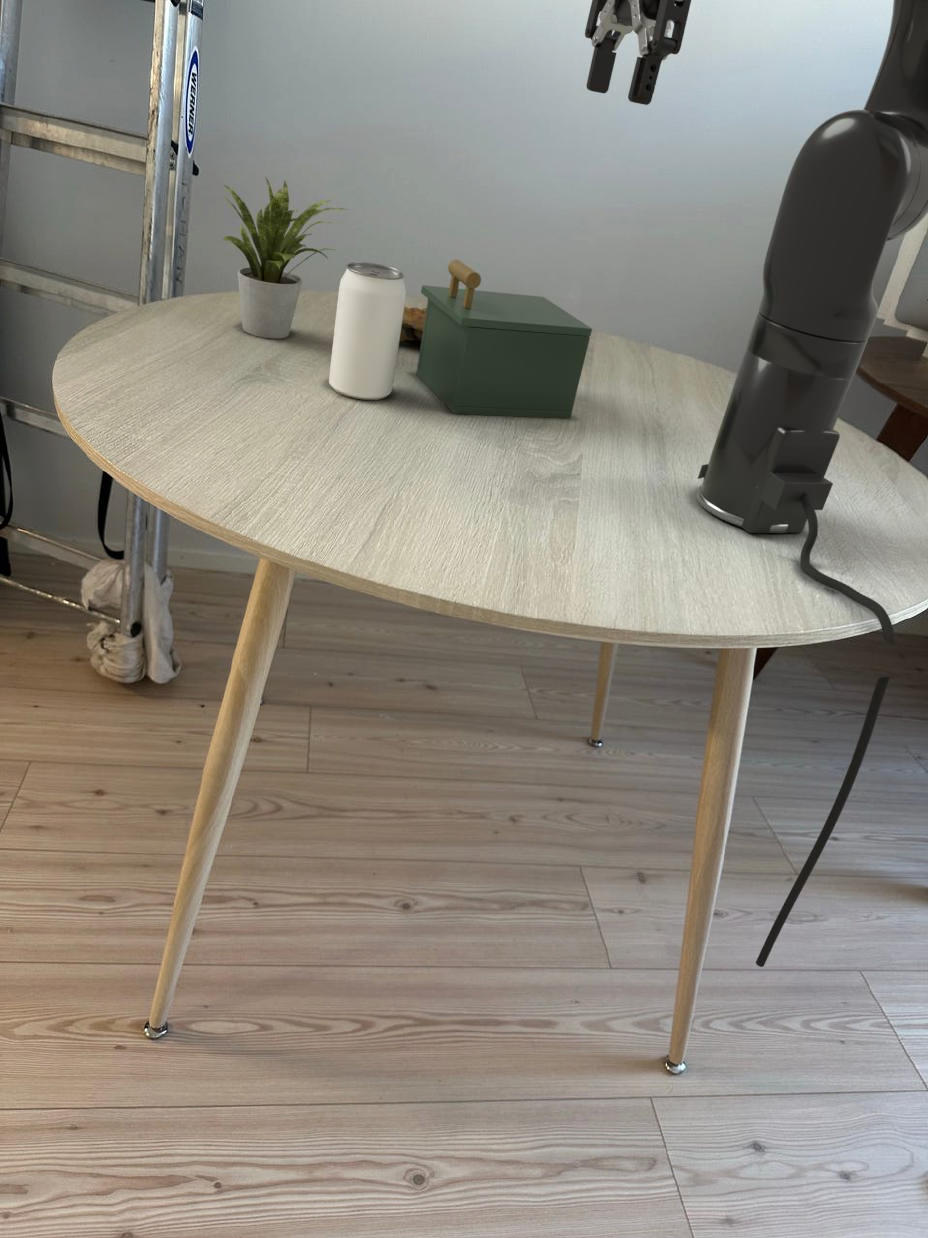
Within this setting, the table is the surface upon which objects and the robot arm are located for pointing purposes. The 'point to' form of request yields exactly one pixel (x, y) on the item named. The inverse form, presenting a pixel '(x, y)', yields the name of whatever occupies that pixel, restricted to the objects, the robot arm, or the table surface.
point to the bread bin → (500, 368)
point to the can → (367, 331)
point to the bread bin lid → (499, 307)
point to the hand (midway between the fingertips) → (616, 97)
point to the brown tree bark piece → (412, 324)
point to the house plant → (271, 264)
